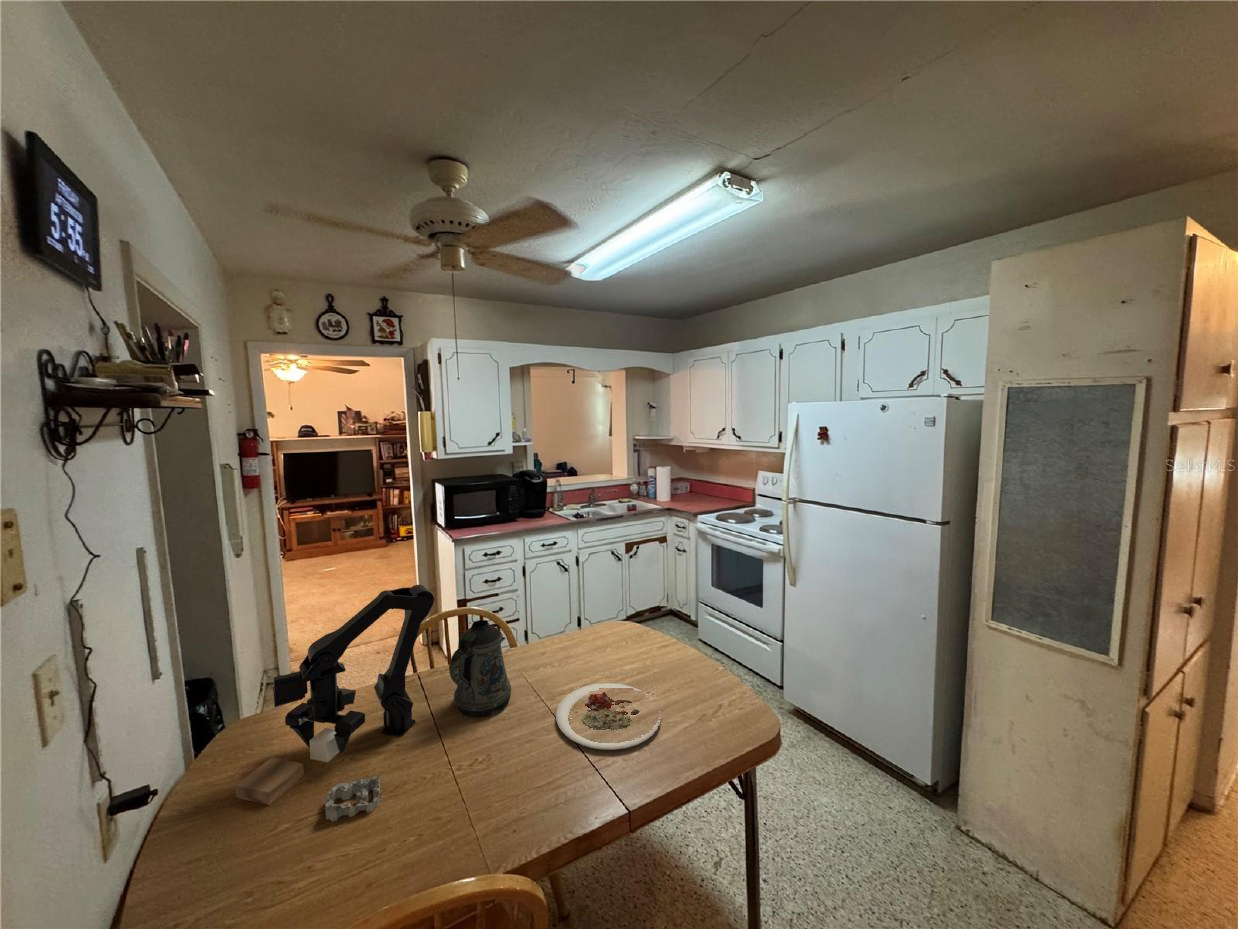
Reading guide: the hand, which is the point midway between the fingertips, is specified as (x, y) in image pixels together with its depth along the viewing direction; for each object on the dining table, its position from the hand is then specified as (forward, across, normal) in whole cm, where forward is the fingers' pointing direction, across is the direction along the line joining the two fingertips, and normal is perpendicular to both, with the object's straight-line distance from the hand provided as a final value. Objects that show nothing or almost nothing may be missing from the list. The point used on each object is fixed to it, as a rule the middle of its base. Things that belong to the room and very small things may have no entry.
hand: (326, 749), depth 123 cm
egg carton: (+2, -18, +12) cm, 22 cm away
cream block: (+1, 0, 0) cm, 1 cm away
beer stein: (+1, -28, -28) cm, 40 cm away
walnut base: (+1, +4, +12) cm, 13 cm away
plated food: (+2, -66, -31) cm, 73 cm away
